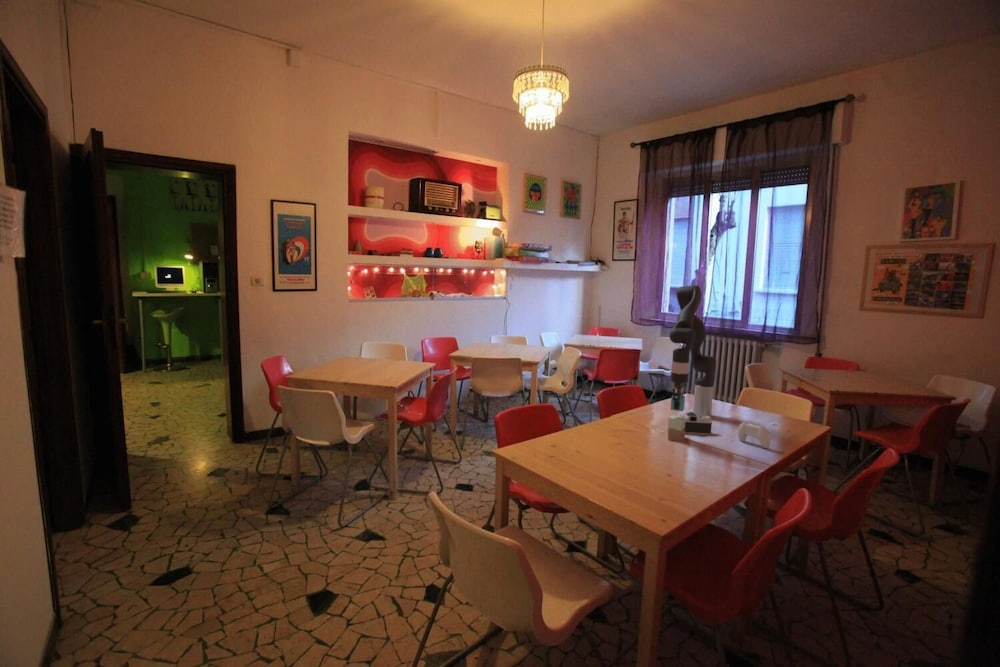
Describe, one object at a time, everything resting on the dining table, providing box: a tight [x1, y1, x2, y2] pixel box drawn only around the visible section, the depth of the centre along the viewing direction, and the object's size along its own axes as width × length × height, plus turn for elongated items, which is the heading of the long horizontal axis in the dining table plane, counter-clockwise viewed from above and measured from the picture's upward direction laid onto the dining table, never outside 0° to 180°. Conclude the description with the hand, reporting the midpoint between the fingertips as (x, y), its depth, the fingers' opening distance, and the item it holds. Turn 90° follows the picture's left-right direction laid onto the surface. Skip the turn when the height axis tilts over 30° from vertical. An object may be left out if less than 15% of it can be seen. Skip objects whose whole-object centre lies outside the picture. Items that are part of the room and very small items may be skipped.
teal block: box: [670, 395, 686, 412], centre depth 217 cm, size 5×5×6 cm
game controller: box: [737, 421, 771, 450], centre depth 211 cm, size 14×4×10 cm, turn 31°
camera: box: [680, 411, 713, 435], centre depth 229 cm, size 16×9×10 cm, turn 83°
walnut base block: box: [667, 428, 686, 443], centre depth 218 cm, size 7×7×5 cm
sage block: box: [667, 414, 685, 431], centre depth 218 cm, size 6×6×5 cm
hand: (677, 407), depth 217 cm, fingers closed on teal block, 5 cm apart
